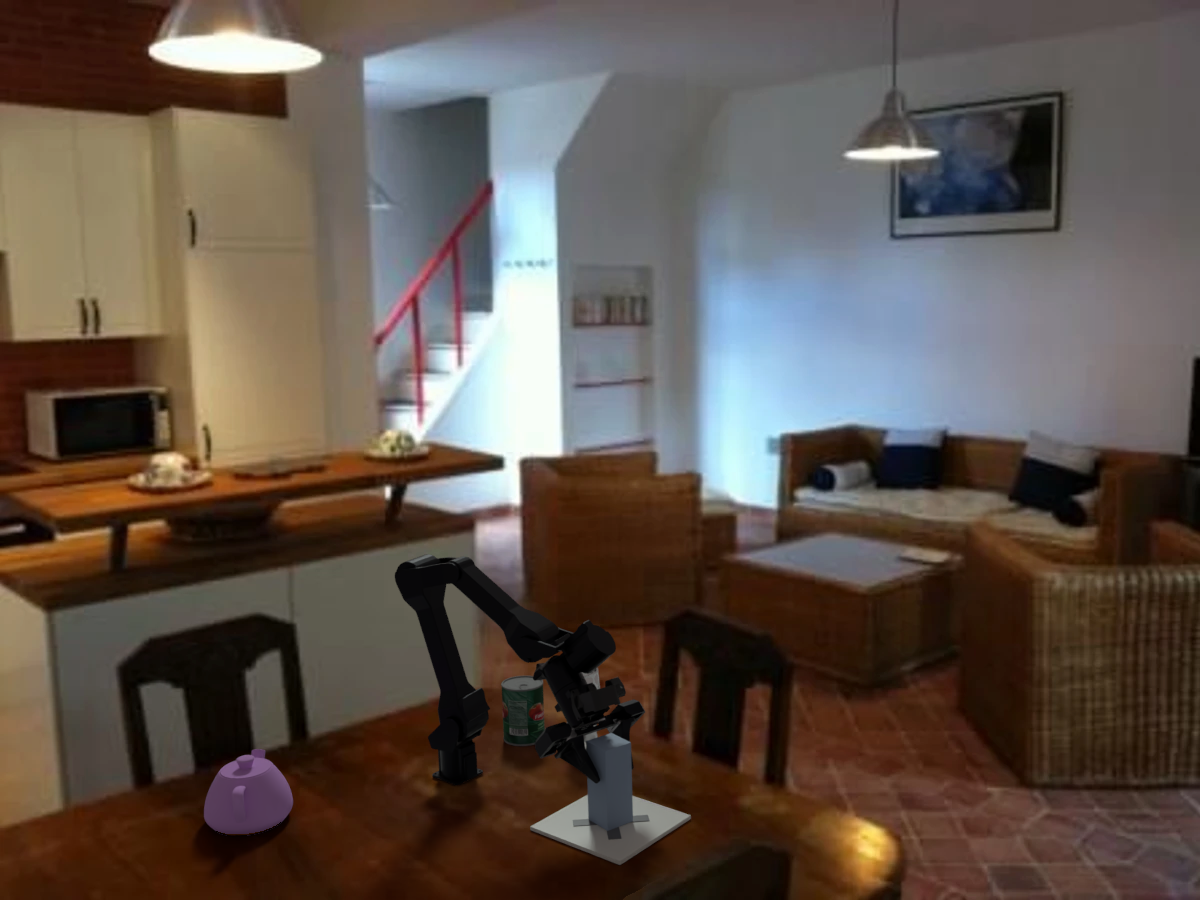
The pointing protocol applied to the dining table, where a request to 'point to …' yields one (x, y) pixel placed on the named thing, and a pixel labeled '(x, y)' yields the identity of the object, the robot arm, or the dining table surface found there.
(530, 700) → the canned tomato
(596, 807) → the blue block
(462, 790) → the dining table surface
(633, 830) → the pad
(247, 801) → the teapot
